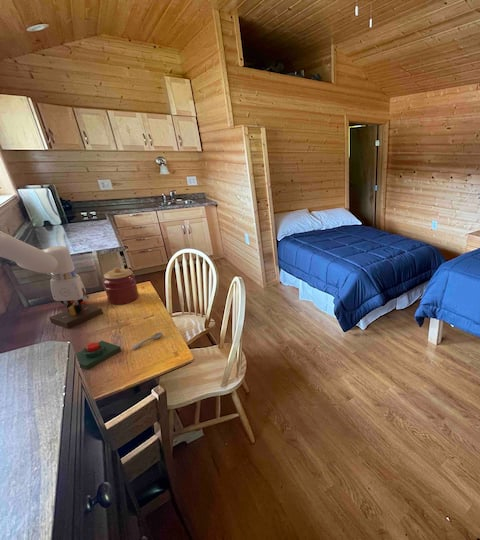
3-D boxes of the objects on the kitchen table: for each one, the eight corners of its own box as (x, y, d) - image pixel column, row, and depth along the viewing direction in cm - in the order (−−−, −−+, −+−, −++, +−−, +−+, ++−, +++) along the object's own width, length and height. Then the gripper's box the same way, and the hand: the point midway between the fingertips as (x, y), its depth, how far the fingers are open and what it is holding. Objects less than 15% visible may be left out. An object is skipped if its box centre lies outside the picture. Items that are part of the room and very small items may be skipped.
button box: (87, 370, 108) (84, 361, 107) (68, 363, 111) (65, 354, 109) (121, 351, 119) (119, 342, 117) (103, 344, 121) (100, 336, 120)
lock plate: (68, 328, 129) (66, 322, 128) (51, 323, 132) (48, 316, 131) (103, 313, 142) (101, 308, 140) (86, 308, 144) (84, 303, 143)
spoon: (164, 336, 129) (163, 332, 129) (135, 352, 120) (133, 348, 119) (160, 334, 131) (159, 330, 130) (130, 350, 121) (129, 346, 120)
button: (91, 353, 111) (90, 349, 111) (84, 350, 112) (83, 346, 112) (102, 347, 115) (100, 343, 114) (95, 345, 115) (94, 341, 115)
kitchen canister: (112, 294, 158) (104, 263, 152) (141, 292, 163) (135, 262, 157) (104, 306, 147) (95, 273, 141) (136, 303, 153) (128, 271, 146)
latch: (74, 315, 133) (72, 307, 132) (70, 315, 133) (67, 307, 131) (81, 309, 138) (79, 301, 137) (77, 309, 138) (74, 301, 136)
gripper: (35, 279, 123) (48, 317, 130) (81, 277, 128) (92, 314, 134) (46, 272, 130) (59, 309, 137) (90, 270, 134) (100, 306, 141)
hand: (75, 311), depth 135 cm, fingers closed on latch
